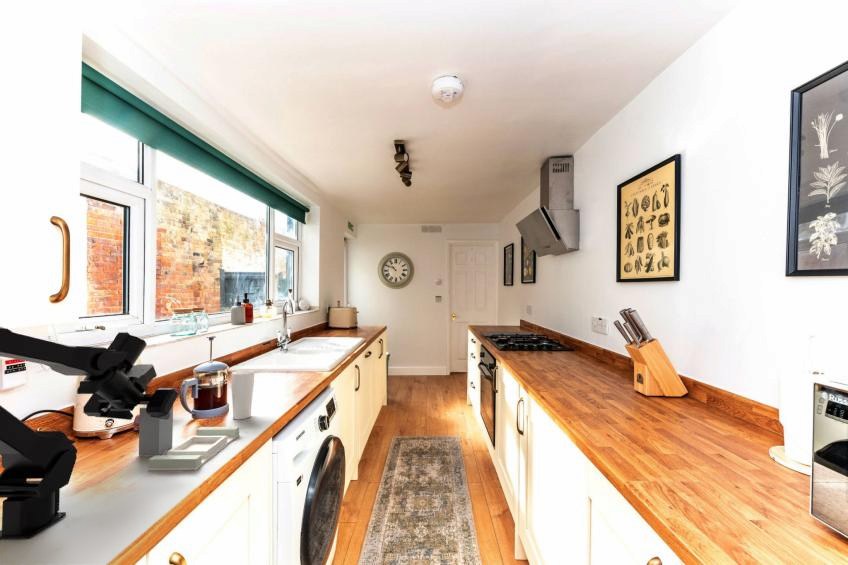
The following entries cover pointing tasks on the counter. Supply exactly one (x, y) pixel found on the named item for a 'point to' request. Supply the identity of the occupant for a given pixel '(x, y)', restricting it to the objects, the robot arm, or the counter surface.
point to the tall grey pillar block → (154, 434)
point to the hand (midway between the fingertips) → (150, 417)
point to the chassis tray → (195, 449)
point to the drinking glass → (242, 393)
